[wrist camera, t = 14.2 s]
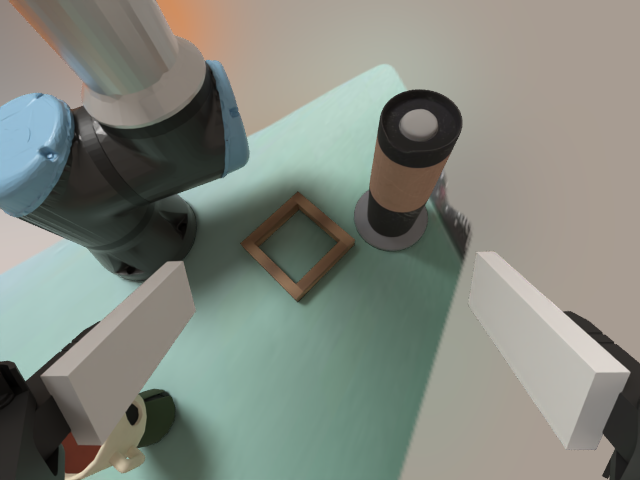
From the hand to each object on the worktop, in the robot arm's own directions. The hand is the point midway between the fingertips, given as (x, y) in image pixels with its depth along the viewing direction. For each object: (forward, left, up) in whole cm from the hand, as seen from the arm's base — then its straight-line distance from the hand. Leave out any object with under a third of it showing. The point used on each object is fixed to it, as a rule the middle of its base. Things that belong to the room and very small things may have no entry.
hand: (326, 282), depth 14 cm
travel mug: (-6, +18, -29) cm, 35 cm away
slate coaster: (-6, +18, -30) cm, 35 cm away
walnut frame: (-13, +5, -30) cm, 33 cm away
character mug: (-10, -24, -30) cm, 39 cm away
